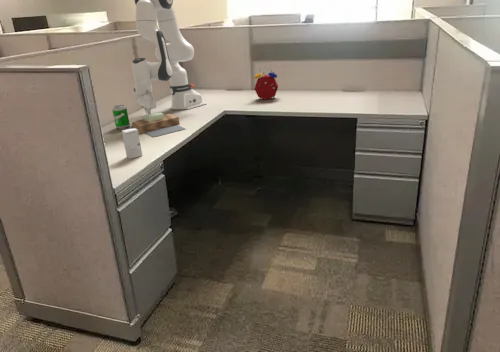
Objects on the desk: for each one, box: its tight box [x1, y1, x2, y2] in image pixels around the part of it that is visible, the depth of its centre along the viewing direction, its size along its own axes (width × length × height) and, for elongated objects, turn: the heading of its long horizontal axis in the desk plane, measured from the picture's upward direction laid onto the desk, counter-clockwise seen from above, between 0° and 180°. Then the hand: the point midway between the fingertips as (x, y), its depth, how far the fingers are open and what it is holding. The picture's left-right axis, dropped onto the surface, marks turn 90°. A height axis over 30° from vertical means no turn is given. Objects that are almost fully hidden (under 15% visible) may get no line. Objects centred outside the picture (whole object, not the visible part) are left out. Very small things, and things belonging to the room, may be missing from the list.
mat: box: [144, 124, 186, 138], centre depth 218 cm, size 18×11×1 cm, turn 124°
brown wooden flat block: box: [131, 113, 181, 134], centre depth 226 cm, size 22×12×4 cm, turn 124°
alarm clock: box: [254, 66, 279, 101], centre depth 262 cm, size 15×9×20 cm, turn 84°
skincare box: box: [121, 127, 143, 160], centre depth 182 cm, size 6×4×12 cm
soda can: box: [111, 104, 131, 130], centre depth 229 cm, size 8×8×12 cm
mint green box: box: [143, 112, 165, 122], centre depth 226 cm, size 9×6×2 cm, turn 124°
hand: (148, 114), depth 232 cm, fingers closed
